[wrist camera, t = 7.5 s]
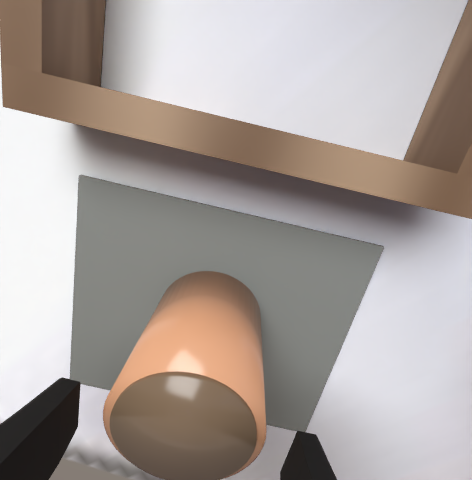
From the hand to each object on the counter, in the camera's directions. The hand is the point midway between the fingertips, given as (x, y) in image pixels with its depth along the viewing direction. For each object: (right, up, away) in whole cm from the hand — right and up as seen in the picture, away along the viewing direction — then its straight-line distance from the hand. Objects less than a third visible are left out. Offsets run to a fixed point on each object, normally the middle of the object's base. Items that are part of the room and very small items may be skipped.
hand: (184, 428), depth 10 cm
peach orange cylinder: (0, +2, +5) cm, 6 cm away
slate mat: (0, +2, +6) cm, 6 cm away
